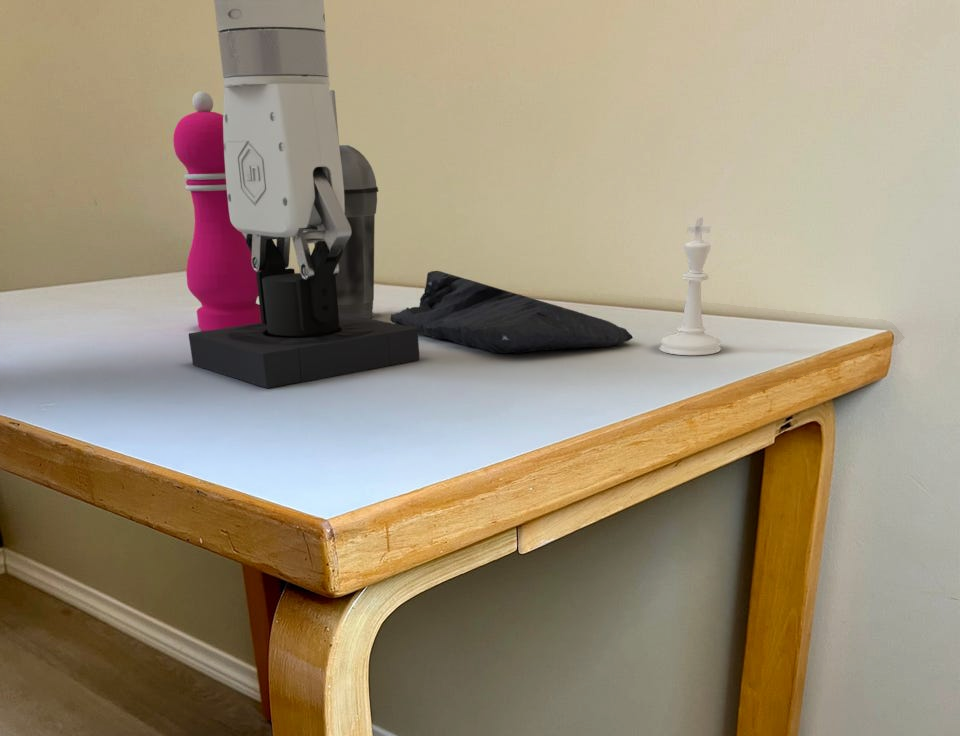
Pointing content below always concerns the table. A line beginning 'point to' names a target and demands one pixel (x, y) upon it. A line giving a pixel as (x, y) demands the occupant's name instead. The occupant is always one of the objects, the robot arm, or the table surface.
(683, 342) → the chess piece
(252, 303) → the pepper mill
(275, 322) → the dark gray cylinder
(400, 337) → the base pad
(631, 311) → the table surface
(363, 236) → the beverage cup
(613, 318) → the table surface
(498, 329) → the black fabric pouch
